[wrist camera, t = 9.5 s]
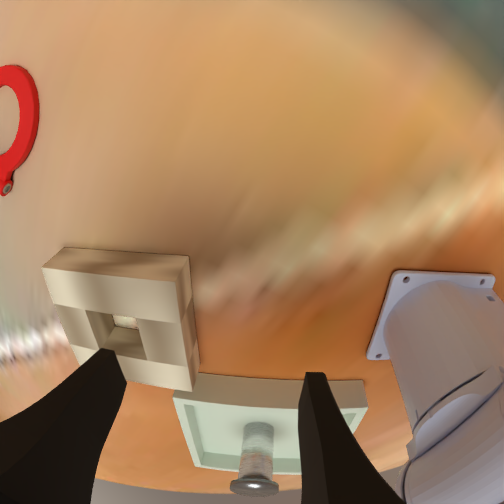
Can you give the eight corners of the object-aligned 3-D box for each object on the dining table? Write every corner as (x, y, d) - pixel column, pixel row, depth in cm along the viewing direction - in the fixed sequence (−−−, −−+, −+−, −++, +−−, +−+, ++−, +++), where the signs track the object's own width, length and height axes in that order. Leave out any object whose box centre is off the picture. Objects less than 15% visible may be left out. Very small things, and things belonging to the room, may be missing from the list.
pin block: (188, 256, 19) (174, 282, 16) (200, 363, 24) (192, 392, 21) (64, 247, 19) (41, 267, 17) (95, 345, 24) (81, 368, 21)
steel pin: (270, 415, 25) (266, 482, 19) (286, 434, 27) (285, 494, 20) (230, 422, 26) (220, 485, 20) (249, 440, 28) (243, 497, 21)
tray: (362, 379, 23) (368, 407, 21) (325, 453, 31) (327, 473, 28) (180, 370, 24) (172, 397, 22) (199, 446, 31) (195, 466, 29)
